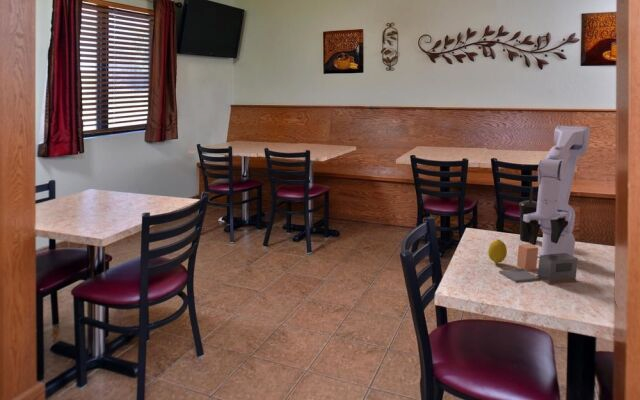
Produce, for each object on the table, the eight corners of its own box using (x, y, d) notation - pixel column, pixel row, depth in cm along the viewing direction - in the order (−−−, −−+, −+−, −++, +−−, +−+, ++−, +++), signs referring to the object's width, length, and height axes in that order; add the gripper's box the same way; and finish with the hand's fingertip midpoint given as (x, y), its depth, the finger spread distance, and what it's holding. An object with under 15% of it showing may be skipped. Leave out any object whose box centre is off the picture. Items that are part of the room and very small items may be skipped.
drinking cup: (512, 237, 192) (516, 184, 188) (531, 236, 193) (536, 184, 188) (521, 243, 185) (526, 189, 180) (542, 242, 185) (547, 188, 181)
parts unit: (562, 274, 154) (565, 252, 152) (576, 281, 149) (579, 258, 147) (536, 277, 152) (538, 254, 150) (549, 284, 146) (551, 261, 145)
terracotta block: (527, 265, 162) (529, 243, 161) (536, 269, 158) (538, 247, 157) (516, 266, 161) (518, 244, 160) (524, 270, 157) (527, 248, 156)
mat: (522, 270, 157) (522, 268, 157) (539, 279, 150) (539, 277, 150) (499, 272, 155) (499, 270, 155) (515, 282, 148) (515, 280, 148)
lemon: (506, 267, 160) (509, 242, 158) (488, 265, 161) (490, 241, 159) (504, 261, 165) (506, 237, 164) (486, 260, 166) (488, 236, 165)
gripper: (535, 203, 146) (531, 249, 149) (578, 201, 150) (573, 245, 153) (520, 198, 153) (516, 242, 156) (561, 196, 156) (556, 238, 159)
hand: (543, 243), depth 155 cm, fingers open, 7 cm apart
